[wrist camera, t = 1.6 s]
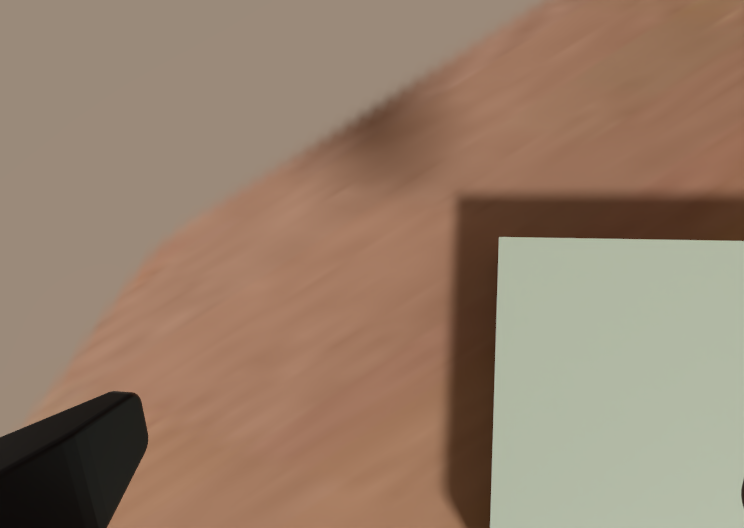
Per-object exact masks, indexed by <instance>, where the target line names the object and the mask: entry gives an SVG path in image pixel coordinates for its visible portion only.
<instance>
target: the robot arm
mask: <svg viewBox="0 0 744 528" xmlns="http://www.w3.org/2000/svg"><path fill="white" fill-rule="evenodd" d="M147 444H148V432H147V427H146V422H145V417H144V412H143V408H142V403H141V399H140V398H139V396H138V395H137V394H135V393H132V392H119V391H112V392H108V393H106V394H104V395H101V396H99V397H96V398H94V399H92V400H89V401H87V402H84V403H82V404H80V405H77V406H75V407H72V408H70V409H67V410H65V411H63V412H60V413H58V414H55V415H53V416H51V417H48V418H46V419H43V420H41V421H39V422H36V423H34V424H31V425H29V426H27V427H24V428H22V429H19V430H17V431H15V432H12V433H10V434H7V435H5V436H3V437H0V528H107V526H108V524H109V522H110V520H111V519H112V517H113V515H114V513H115V511H116V509H117V507H118V505H119V503H120V501H121V499H122V497H123V495H124V493H125V491H126V489H127V487H128V485H129V483H130V481H131V479H132V477H133V475H134V473H135V471H136V469H137V467H138V465H139V463H140V461H141V459H142V457H143V455H144V453H145V451H146V448H147ZM741 498H742V504H743V508H744V479H743V484H742V489H741Z"/></svg>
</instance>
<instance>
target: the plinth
mask: <svg viewBox="0 0 744 528" xmlns="http://www.w3.org/2000/svg"><path fill="white" fill-rule="evenodd" d="M743 479H744V241H717V240H656V239H595V238H534V237H499V248H498V281H497V314H496V346H495V379H494V412H493V445H492V478H491V511H490V528H744V508H743V504H742V498H741V489H742V484H743Z"/></svg>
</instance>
